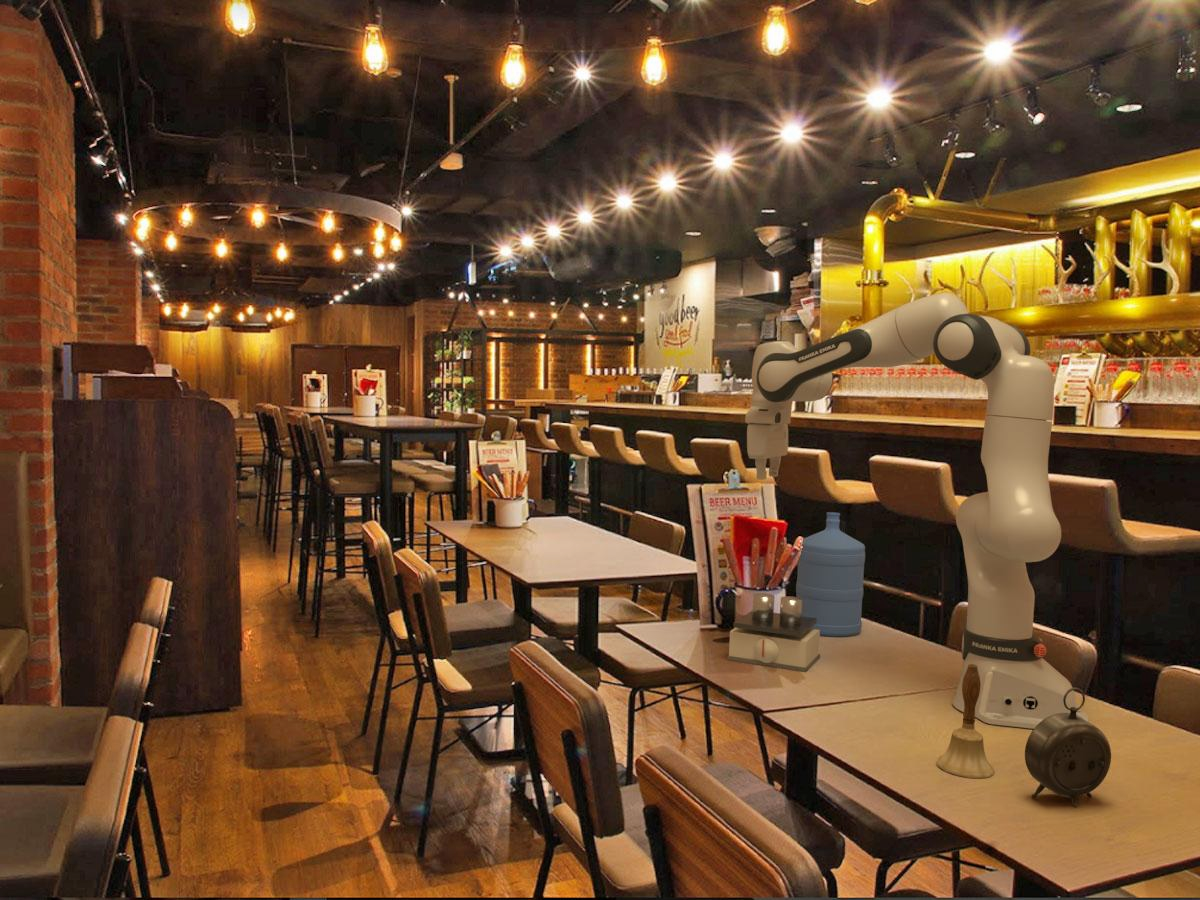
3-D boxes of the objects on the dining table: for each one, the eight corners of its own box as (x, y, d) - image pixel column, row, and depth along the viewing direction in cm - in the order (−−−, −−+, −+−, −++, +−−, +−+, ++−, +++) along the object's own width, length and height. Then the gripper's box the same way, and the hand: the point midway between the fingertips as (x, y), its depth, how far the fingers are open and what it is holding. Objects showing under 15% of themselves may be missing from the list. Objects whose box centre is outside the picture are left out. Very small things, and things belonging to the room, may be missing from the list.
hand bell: (1003, 769, 151) (1010, 666, 150) (979, 783, 145) (986, 675, 144) (951, 753, 157) (957, 654, 156) (926, 766, 151) (932, 663, 150)
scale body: (820, 657, 212) (821, 629, 211) (805, 672, 200) (806, 643, 200) (744, 646, 219) (746, 619, 218) (726, 660, 207) (727, 631, 207)
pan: (816, 627, 213) (816, 618, 213) (800, 641, 200) (800, 631, 200) (752, 619, 219) (753, 609, 218) (733, 632, 206) (733, 622, 206)
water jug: (864, 639, 229) (871, 518, 227) (795, 634, 231) (801, 515, 230) (858, 624, 244) (863, 511, 243) (792, 619, 247) (798, 507, 245)
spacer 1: (782, 618, 211) (783, 595, 210) (803, 621, 209) (804, 598, 209) (777, 623, 207) (778, 599, 206) (798, 625, 205) (799, 601, 205)
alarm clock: (1089, 792, 143) (1097, 681, 142) (1114, 808, 138) (1122, 693, 137) (1019, 794, 142) (1027, 682, 141) (1042, 810, 136) (1050, 694, 135)
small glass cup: (752, 615, 213) (753, 592, 213) (773, 617, 212) (774, 594, 212) (751, 620, 209) (752, 596, 208) (772, 621, 208) (773, 598, 207)
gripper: (769, 414, 229) (766, 473, 230) (742, 414, 210) (739, 480, 211) (796, 415, 226) (793, 475, 227) (772, 416, 208) (768, 482, 209)
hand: (767, 478), depth 219 cm, fingers open, 8 cm apart
